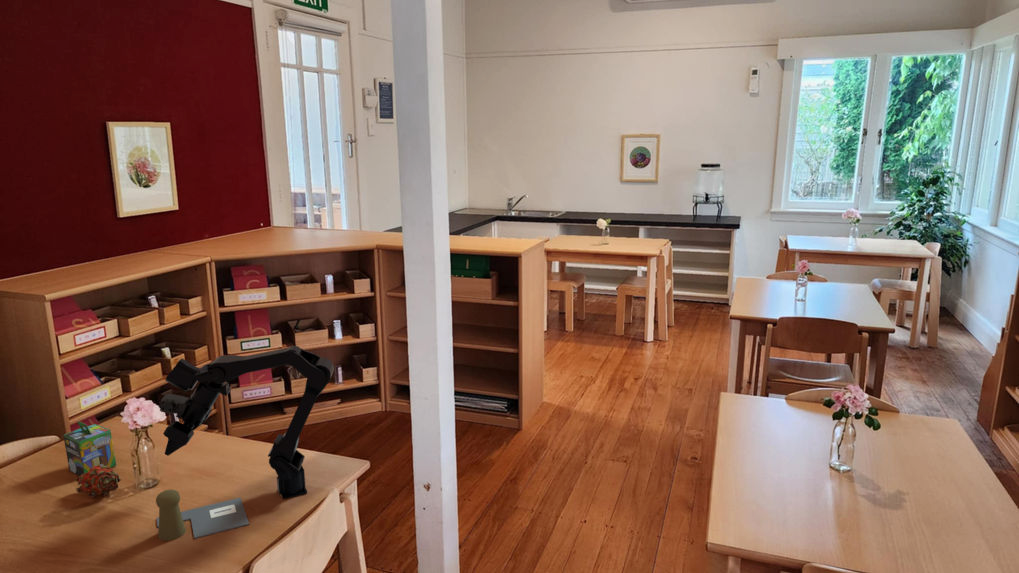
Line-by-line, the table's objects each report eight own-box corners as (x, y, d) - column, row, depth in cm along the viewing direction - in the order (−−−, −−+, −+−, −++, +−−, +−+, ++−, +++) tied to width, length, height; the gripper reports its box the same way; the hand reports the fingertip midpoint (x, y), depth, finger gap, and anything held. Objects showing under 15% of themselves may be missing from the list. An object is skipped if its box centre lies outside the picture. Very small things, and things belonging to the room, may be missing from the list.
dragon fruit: (120, 503, 180) (83, 503, 183) (134, 473, 186) (98, 474, 188) (98, 489, 174) (60, 490, 177) (114, 459, 179) (77, 460, 182)
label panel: (240, 498, 180) (240, 496, 180) (249, 524, 168) (249, 523, 168) (156, 518, 170) (156, 517, 170) (159, 548, 158) (159, 546, 158)
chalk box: (117, 466, 196) (110, 419, 193) (84, 479, 189) (76, 430, 186) (100, 458, 201) (94, 412, 198) (67, 470, 194) (60, 423, 190)
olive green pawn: (174, 542, 160) (169, 500, 158) (152, 538, 162) (147, 497, 159) (191, 527, 166) (186, 487, 164) (169, 524, 167) (164, 484, 165)
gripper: (186, 371, 182) (158, 417, 184) (159, 398, 164) (128, 448, 166) (224, 391, 185) (196, 436, 187) (201, 420, 166) (170, 469, 168)
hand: (173, 446), depth 177 cm, fingers open, 9 cm apart
